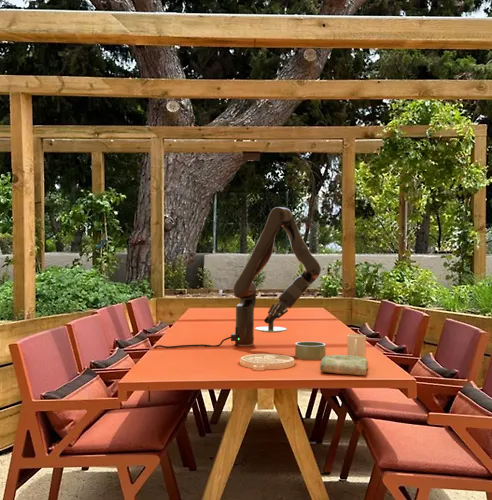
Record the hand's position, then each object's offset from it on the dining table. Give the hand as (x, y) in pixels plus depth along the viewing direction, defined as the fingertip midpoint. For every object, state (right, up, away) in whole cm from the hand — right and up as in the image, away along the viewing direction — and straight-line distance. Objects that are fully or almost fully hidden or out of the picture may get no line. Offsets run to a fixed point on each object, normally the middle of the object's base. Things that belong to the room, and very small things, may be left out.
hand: (266, 322), depth 278 cm
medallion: (-1, -15, -22) cm, 27 cm away
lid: (+2, -3, +1) cm, 4 cm away
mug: (+38, -16, -17) cm, 45 cm away
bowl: (+19, -15, -6) cm, 25 cm away
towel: (+31, -16, -33) cm, 48 cm away
